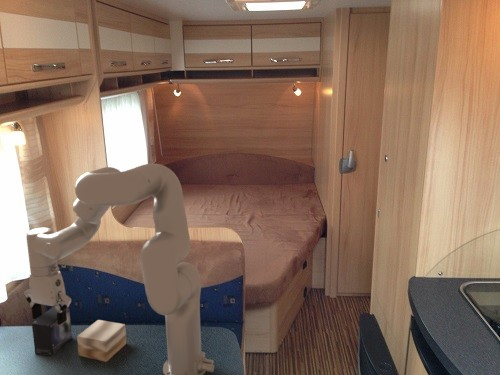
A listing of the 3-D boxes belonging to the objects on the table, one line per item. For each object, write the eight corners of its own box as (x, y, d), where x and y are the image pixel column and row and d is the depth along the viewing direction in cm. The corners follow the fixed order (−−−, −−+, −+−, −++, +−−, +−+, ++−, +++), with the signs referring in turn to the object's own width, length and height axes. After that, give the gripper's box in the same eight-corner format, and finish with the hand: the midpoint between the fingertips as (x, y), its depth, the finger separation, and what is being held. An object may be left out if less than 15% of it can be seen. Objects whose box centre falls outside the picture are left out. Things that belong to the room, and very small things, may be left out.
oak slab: (126, 344, 138) (125, 334, 137) (106, 363, 129) (105, 352, 128) (100, 339, 141) (99, 329, 141) (78, 356, 132) (77, 346, 131)
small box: (53, 356, 132) (49, 325, 129) (34, 354, 133) (29, 323, 131) (73, 337, 142) (70, 308, 140) (55, 335, 143) (52, 306, 141)
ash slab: (125, 334, 138) (125, 324, 137) (106, 352, 128) (105, 341, 127) (99, 329, 141) (98, 319, 140) (78, 346, 131) (77, 336, 131)
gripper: (76, 267, 133) (80, 318, 136) (31, 260, 138) (37, 309, 142) (58, 277, 126) (63, 331, 129) (11, 269, 131) (18, 320, 135)
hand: (49, 319), depth 136 cm, fingers open, 9 cm apart
